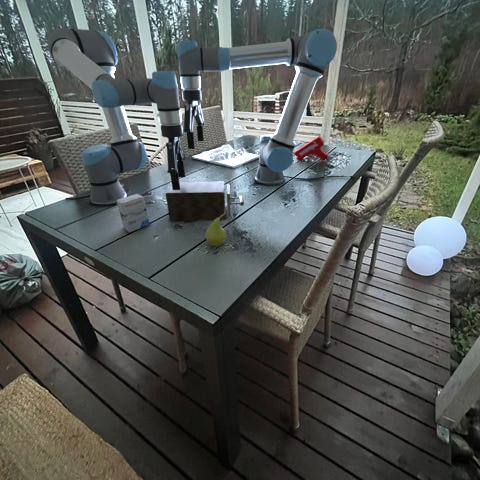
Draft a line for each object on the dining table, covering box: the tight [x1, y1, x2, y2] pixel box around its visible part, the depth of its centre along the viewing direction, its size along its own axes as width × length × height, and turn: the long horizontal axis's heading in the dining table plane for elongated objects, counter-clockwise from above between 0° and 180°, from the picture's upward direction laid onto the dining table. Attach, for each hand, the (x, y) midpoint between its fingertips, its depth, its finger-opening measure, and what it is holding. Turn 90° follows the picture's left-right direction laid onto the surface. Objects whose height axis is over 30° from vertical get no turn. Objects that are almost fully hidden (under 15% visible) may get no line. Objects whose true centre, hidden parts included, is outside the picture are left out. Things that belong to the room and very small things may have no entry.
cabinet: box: [165, 180, 226, 222], centre depth 109 cm, size 22×11×12 cm, turn 92°
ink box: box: [116, 193, 151, 233], centre depth 100 cm, size 8×5×12 cm, turn 135°
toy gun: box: [294, 135, 329, 163], centre depth 172 cm, size 18×4×15 cm
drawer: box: [226, 183, 245, 218], centre depth 109 cm, size 26×10×10 cm, turn 92°
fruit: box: [204, 210, 227, 248], centre depth 90 cm, size 7×8×12 cm
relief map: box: [192, 143, 259, 169], centre depth 179 cm, size 27×35×5 cm
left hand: (179, 183), depth 105 cm, fingers open, 13 cm apart
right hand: (196, 144), depth 118 cm, fingers open, 13 cm apart
